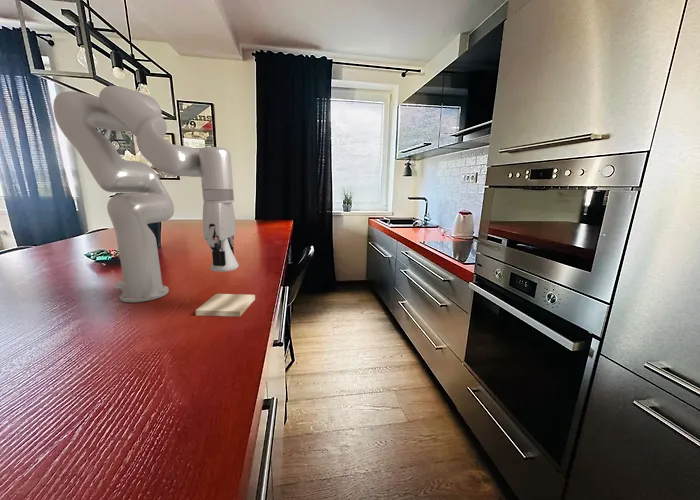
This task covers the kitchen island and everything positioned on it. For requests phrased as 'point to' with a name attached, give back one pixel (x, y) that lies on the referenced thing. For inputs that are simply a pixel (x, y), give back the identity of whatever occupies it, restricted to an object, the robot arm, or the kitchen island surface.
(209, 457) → the kitchen island surface
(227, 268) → the flask
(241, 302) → the birch board
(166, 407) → the kitchen island surface
